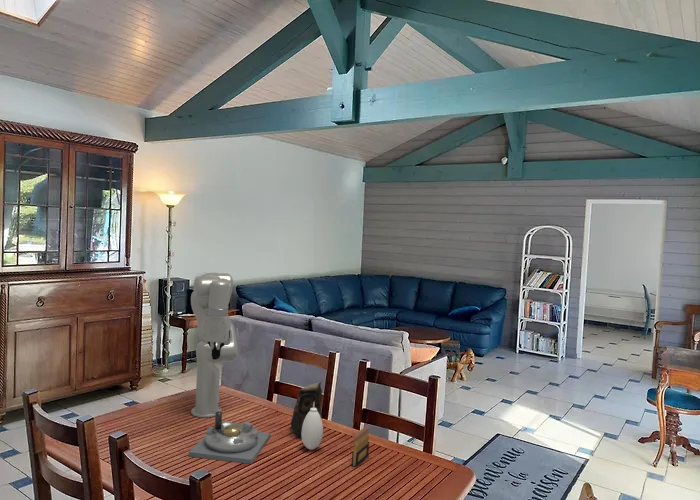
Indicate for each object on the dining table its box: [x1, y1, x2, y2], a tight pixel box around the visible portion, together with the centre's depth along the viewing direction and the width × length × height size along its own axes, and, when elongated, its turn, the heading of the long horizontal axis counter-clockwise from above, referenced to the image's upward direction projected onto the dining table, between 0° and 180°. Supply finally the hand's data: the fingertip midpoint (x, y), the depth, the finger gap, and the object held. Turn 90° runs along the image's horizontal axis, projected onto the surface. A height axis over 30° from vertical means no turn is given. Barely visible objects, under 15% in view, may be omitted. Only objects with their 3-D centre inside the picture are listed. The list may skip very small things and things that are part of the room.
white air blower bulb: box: [301, 403, 324, 451], centre depth 188 cm, size 8×8×18 cm
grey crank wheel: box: [205, 411, 259, 453], centre depth 186 cm, size 19×19×9 cm
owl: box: [290, 381, 323, 440], centre depth 201 cm, size 13×13×20 cm
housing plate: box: [187, 431, 272, 465], centre depth 186 cm, size 23×23×2 cm
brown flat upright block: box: [351, 424, 370, 468], centre depth 180 cm, size 11×2×12 cm, turn 154°
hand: (215, 358), depth 197 cm, fingers closed
